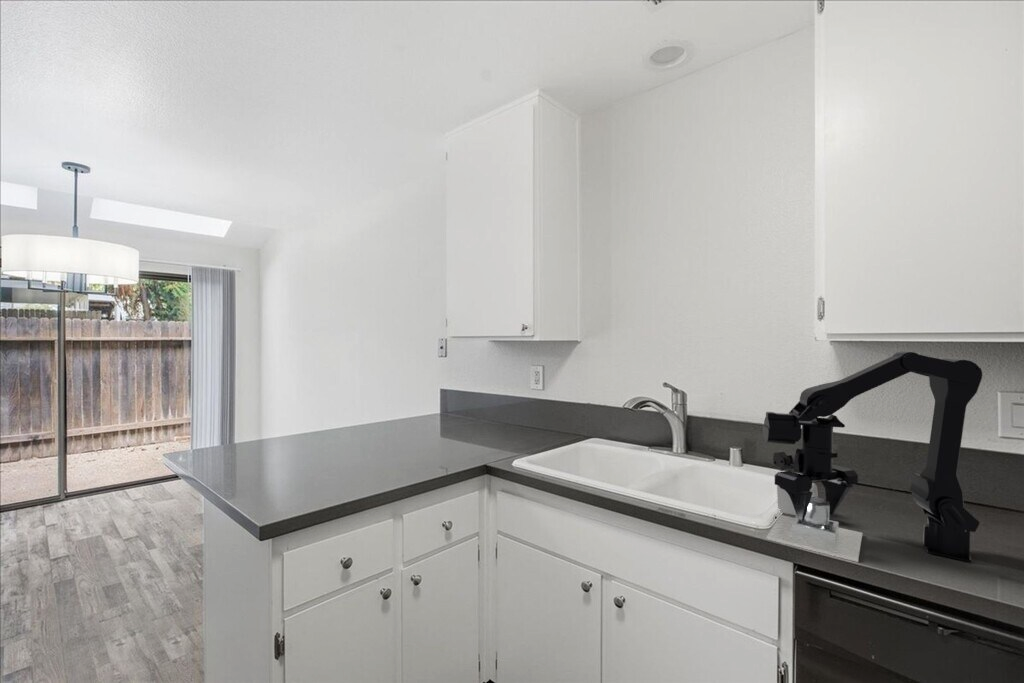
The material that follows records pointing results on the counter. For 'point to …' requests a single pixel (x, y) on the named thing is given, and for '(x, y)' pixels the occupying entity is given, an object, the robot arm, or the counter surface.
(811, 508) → the sleeve
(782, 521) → the duct socket
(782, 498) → the grey rounded block
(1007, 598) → the counter surface
